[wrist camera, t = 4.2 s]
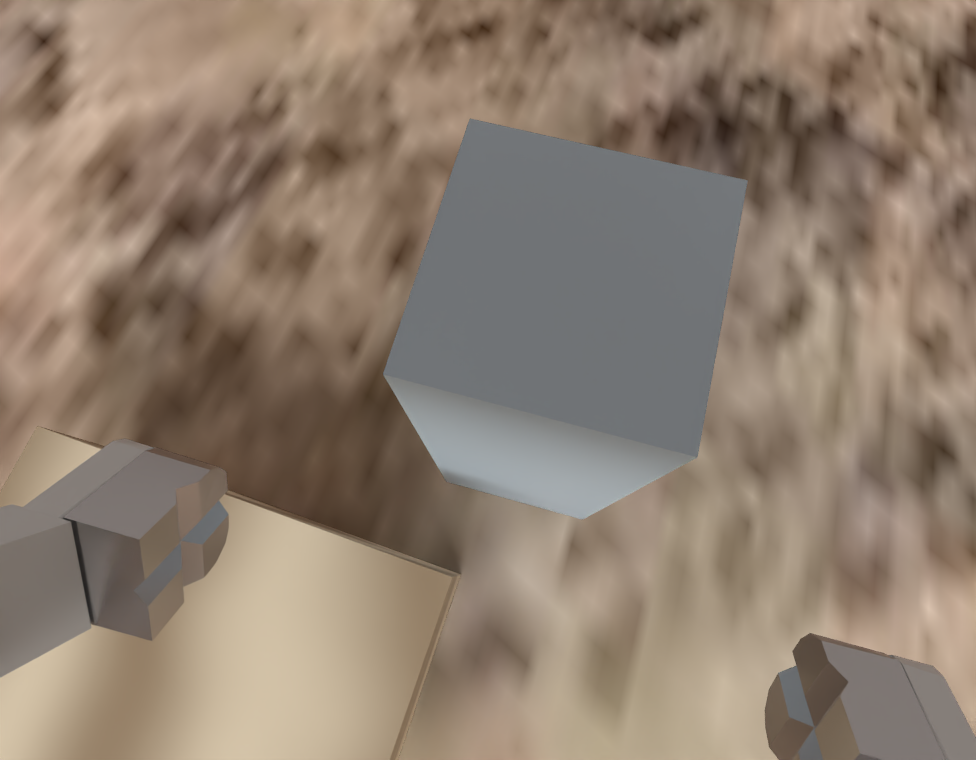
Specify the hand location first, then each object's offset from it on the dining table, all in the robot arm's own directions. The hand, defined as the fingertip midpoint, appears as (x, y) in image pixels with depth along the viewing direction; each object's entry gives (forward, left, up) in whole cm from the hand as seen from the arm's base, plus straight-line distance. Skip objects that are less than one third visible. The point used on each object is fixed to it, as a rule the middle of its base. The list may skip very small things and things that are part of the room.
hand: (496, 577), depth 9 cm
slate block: (0, -5, -13) cm, 14 cm away
